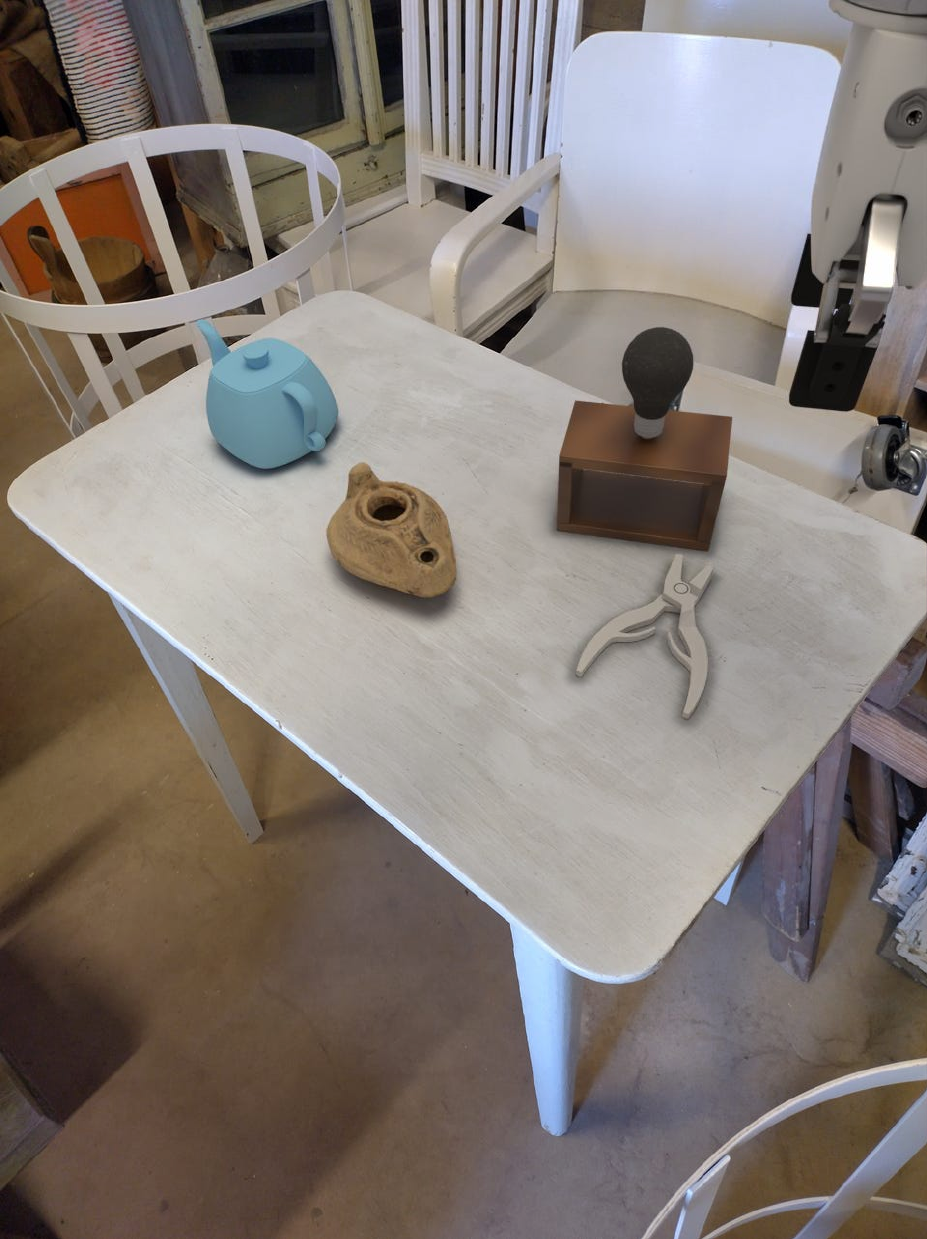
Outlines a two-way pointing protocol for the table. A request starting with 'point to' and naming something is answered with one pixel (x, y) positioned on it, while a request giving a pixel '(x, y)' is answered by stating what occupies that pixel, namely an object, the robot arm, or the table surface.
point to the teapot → (266, 400)
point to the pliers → (672, 600)
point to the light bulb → (656, 375)
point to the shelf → (637, 508)
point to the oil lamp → (392, 535)
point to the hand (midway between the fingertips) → (819, 352)
